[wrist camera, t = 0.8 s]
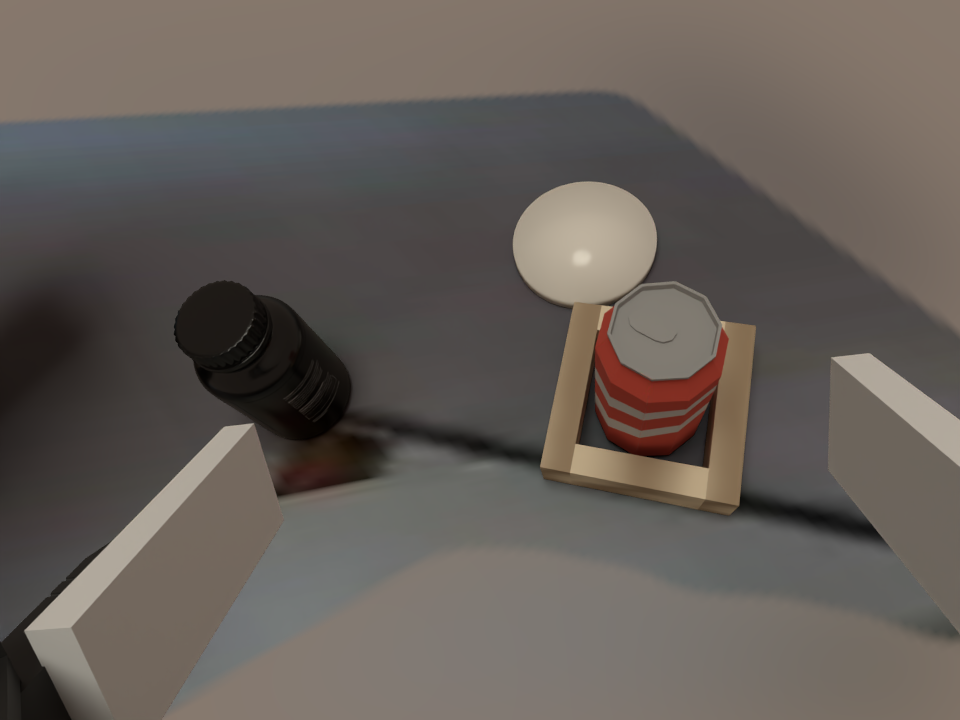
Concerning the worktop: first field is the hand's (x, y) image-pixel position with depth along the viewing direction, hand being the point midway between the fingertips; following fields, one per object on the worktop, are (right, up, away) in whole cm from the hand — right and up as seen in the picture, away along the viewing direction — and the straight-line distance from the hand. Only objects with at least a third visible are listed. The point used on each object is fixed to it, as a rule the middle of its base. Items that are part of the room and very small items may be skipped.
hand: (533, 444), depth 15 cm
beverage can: (+9, -1, +27) cm, 28 cm away
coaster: (+6, +10, +32) cm, 34 cm away
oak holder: (+9, -1, +26) cm, 28 cm away
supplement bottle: (-13, -1, +31) cm, 34 cm away
